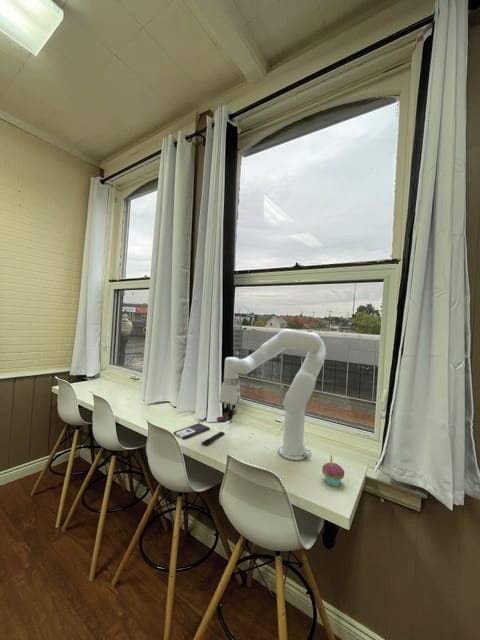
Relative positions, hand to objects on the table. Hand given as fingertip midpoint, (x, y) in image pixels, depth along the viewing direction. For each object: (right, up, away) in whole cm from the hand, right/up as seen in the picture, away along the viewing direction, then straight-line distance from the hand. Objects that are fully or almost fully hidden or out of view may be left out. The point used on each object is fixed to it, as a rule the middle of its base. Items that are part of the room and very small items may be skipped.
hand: (228, 416), depth 138 cm
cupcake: (+43, -16, -31) cm, 55 cm away
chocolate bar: (-21, -12, +10) cm, 26 cm away
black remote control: (-8, -13, +2) cm, 15 cm away
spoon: (-1, 0, -1) cm, 1 cm away
